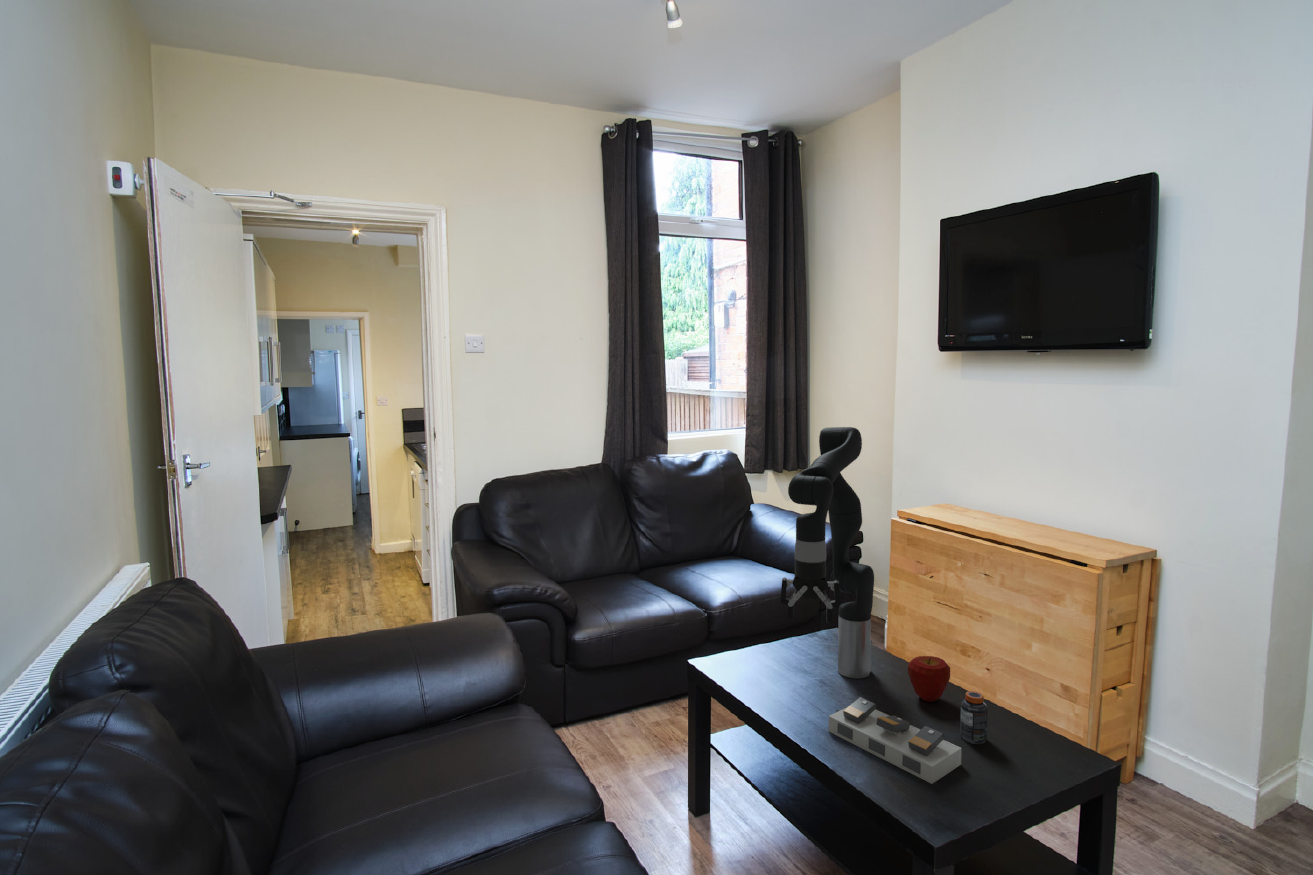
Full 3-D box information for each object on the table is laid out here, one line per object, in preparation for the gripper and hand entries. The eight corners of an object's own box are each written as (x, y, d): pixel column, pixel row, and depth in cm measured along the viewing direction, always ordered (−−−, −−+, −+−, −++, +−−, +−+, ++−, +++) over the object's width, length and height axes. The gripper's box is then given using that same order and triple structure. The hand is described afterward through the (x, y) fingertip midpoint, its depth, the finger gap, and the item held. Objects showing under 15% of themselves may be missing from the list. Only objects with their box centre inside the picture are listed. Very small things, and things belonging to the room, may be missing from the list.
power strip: (851, 713, 180) (852, 696, 179) (961, 764, 156) (961, 745, 156) (821, 728, 172) (822, 711, 172) (931, 784, 149) (932, 764, 148)
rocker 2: (892, 721, 167) (894, 714, 167) (909, 729, 164) (910, 721, 164) (876, 724, 163) (877, 717, 163) (892, 732, 159) (893, 724, 159)
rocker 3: (925, 731, 159) (925, 724, 159) (943, 739, 156) (942, 732, 156) (909, 747, 156) (908, 741, 155) (926, 756, 152) (925, 749, 152)
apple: (927, 686, 194) (928, 645, 193) (958, 703, 185) (960, 660, 184) (898, 694, 190) (899, 653, 189) (928, 712, 180) (930, 667, 179)
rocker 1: (860, 702, 174) (860, 696, 173) (875, 709, 170) (874, 702, 170) (843, 716, 170) (843, 710, 169) (858, 723, 166) (857, 717, 166)
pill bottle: (985, 734, 169) (986, 690, 168) (988, 746, 163) (989, 701, 162) (958, 730, 171) (960, 687, 170) (961, 742, 165) (962, 697, 164)
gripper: (839, 554, 169) (839, 617, 171) (781, 551, 172) (781, 614, 174) (841, 562, 162) (840, 628, 163) (780, 559, 165) (780, 624, 166)
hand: (809, 621), depth 168 cm, fingers open, 8 cm apart
